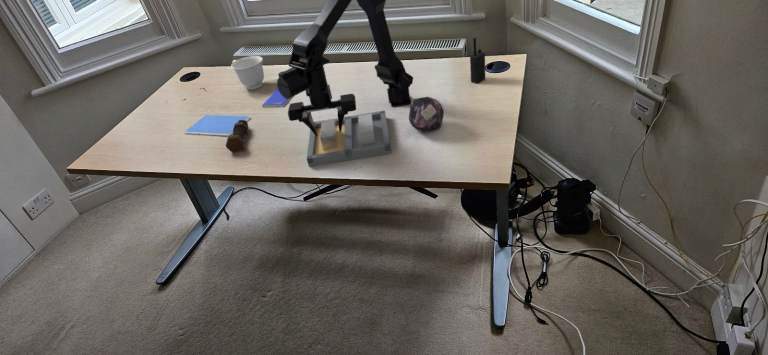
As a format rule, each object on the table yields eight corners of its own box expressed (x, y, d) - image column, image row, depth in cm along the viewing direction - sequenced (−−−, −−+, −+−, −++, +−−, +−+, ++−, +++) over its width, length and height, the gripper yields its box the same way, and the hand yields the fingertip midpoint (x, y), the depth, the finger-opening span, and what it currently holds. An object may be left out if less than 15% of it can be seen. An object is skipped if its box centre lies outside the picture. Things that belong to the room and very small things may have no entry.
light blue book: (184, 135, 157) (182, 131, 156) (206, 117, 166) (205, 113, 166) (231, 138, 150) (229, 134, 150) (252, 119, 160) (251, 115, 159)
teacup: (251, 77, 190) (243, 53, 184) (276, 82, 182) (269, 57, 176) (228, 89, 183) (219, 65, 177) (253, 95, 175) (245, 70, 169)
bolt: (248, 132, 155) (241, 155, 142) (233, 128, 153) (224, 151, 141) (252, 117, 152) (245, 139, 139) (237, 113, 151) (228, 134, 138)
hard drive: (283, 104, 162) (296, 88, 172) (261, 104, 164) (276, 88, 174) (284, 108, 163) (297, 92, 173) (263, 108, 165) (277, 92, 175)
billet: (337, 130, 141) (334, 119, 139) (337, 148, 133) (334, 135, 130) (324, 132, 141) (321, 121, 139) (323, 150, 133) (320, 138, 130)
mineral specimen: (403, 133, 132) (403, 97, 130) (415, 129, 142) (415, 95, 140) (437, 134, 129) (437, 98, 126) (447, 130, 138) (447, 95, 136)
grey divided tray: (385, 117, 145) (383, 103, 143) (391, 153, 128) (388, 137, 125) (313, 129, 146) (309, 115, 143) (308, 166, 129) (304, 151, 126)
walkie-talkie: (478, 77, 160) (477, 33, 151) (486, 79, 157) (485, 35, 149) (469, 82, 157) (467, 38, 149) (477, 84, 155) (476, 40, 146)
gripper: (350, 66, 133) (359, 115, 142) (285, 77, 133) (299, 125, 142) (350, 82, 124) (360, 133, 133) (281, 94, 124) (296, 143, 133)
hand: (328, 133), depth 135 cm, fingers open, 7 cm apart
